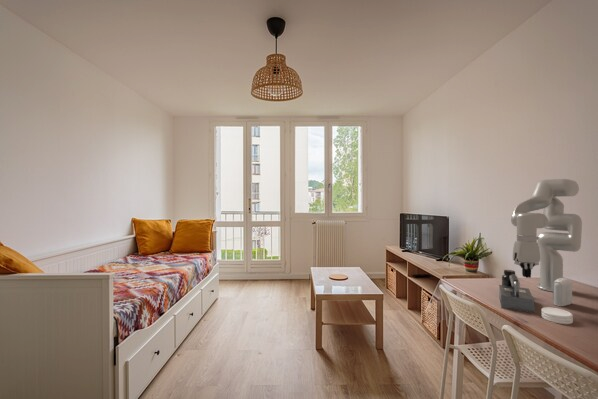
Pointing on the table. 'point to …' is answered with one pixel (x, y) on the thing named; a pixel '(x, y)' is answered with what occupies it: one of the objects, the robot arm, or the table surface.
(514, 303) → the grey lever box
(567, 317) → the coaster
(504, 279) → the supplement bottle
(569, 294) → the photo printer
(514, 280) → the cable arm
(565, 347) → the table surface
